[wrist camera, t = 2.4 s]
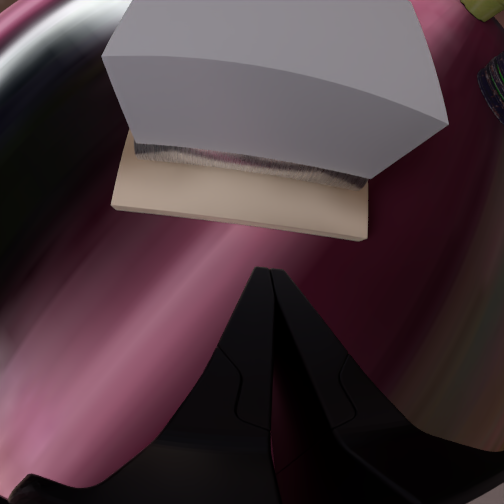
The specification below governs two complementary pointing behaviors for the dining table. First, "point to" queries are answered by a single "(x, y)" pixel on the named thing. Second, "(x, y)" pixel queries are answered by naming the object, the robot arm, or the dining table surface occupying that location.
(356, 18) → the slab
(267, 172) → the rollers
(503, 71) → the storage jar
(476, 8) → the plant pot
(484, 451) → the robot arm
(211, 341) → the dining table surface
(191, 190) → the track board
